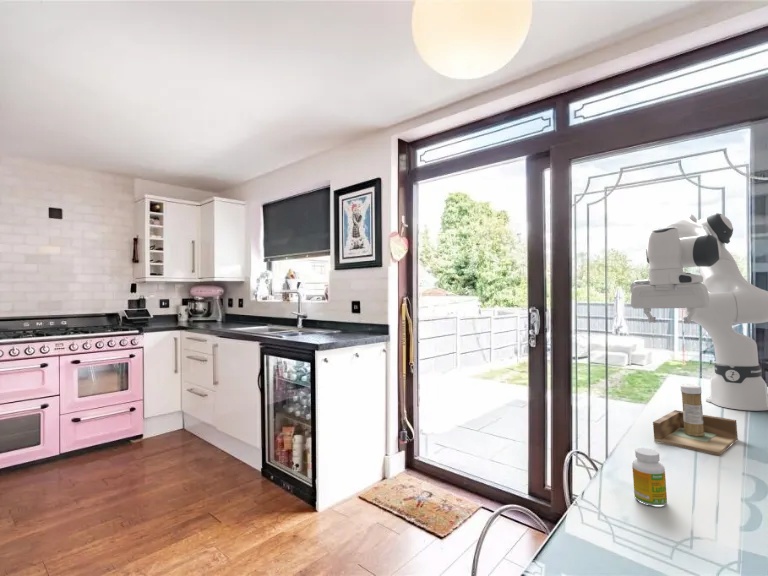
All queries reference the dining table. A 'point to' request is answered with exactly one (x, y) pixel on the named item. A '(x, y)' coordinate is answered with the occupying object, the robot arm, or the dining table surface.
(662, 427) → the corner arena
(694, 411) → the sprinkles bottle
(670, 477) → the dining table surface
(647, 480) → the supplement bottle
